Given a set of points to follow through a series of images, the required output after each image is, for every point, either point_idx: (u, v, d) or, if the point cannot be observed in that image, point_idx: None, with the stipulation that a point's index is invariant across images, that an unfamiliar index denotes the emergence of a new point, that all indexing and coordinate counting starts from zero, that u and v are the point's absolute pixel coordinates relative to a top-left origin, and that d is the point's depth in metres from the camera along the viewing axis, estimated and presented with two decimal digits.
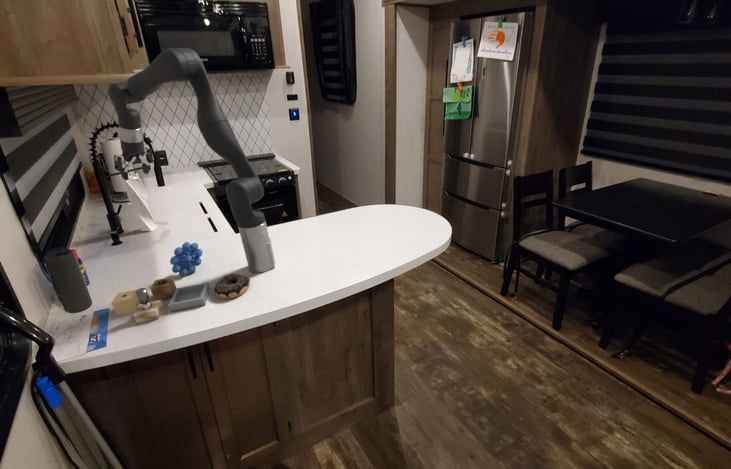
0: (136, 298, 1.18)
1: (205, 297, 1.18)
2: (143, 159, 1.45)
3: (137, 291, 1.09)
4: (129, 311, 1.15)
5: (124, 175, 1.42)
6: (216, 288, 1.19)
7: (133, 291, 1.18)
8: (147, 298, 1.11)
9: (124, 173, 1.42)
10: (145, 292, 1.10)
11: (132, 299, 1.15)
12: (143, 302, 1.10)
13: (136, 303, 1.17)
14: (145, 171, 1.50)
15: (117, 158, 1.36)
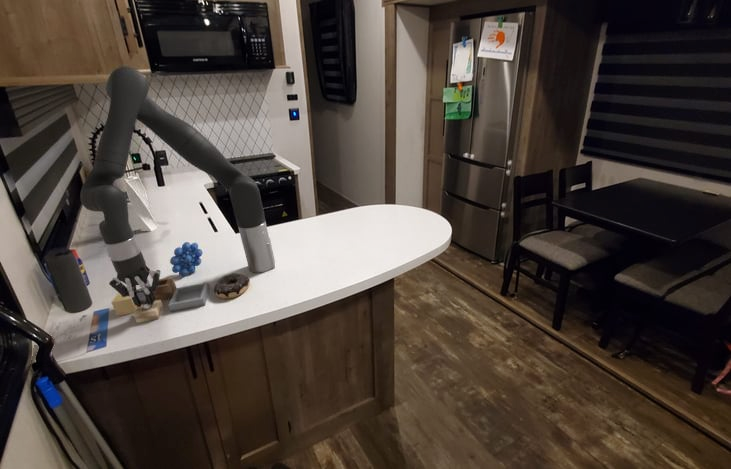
0: None
1: (205, 297, 1.18)
2: None
3: (137, 291, 1.09)
4: (129, 311, 1.15)
5: None
6: (216, 288, 1.19)
7: None
8: None
9: None
10: None
11: None
12: (143, 302, 1.10)
13: None
14: None
15: (159, 272, 1.10)
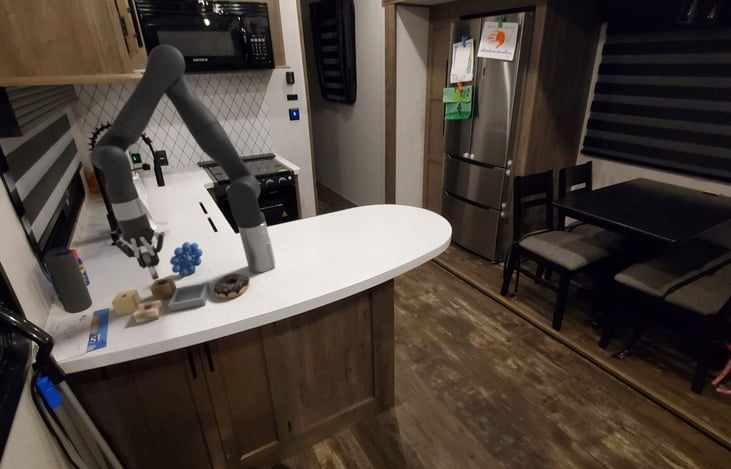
0: (136, 298, 1.18)
1: (205, 297, 1.18)
2: None
3: (142, 253, 1.13)
4: (129, 311, 1.16)
5: None
6: (215, 288, 1.19)
7: (133, 291, 1.18)
8: (152, 261, 1.14)
9: None
10: (150, 255, 1.14)
11: (132, 299, 1.15)
12: (148, 264, 1.14)
13: (136, 303, 1.17)
14: None
15: (163, 234, 1.13)
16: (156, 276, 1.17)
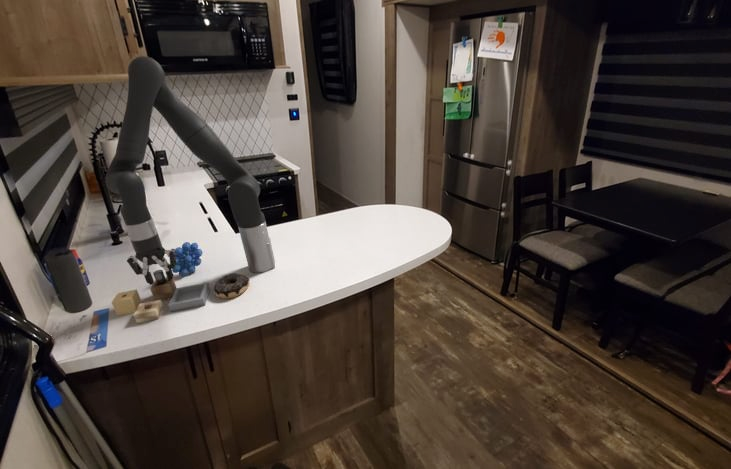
0: (136, 298, 1.18)
1: (205, 297, 1.18)
2: None
3: (155, 272, 1.19)
4: (129, 311, 1.16)
5: None
6: (215, 288, 1.19)
7: (133, 291, 1.18)
8: (164, 279, 1.20)
9: None
10: (162, 273, 1.20)
11: (132, 299, 1.15)
12: (160, 283, 1.20)
13: (136, 303, 1.17)
14: (152, 279, 1.20)
15: (174, 250, 1.19)
16: None
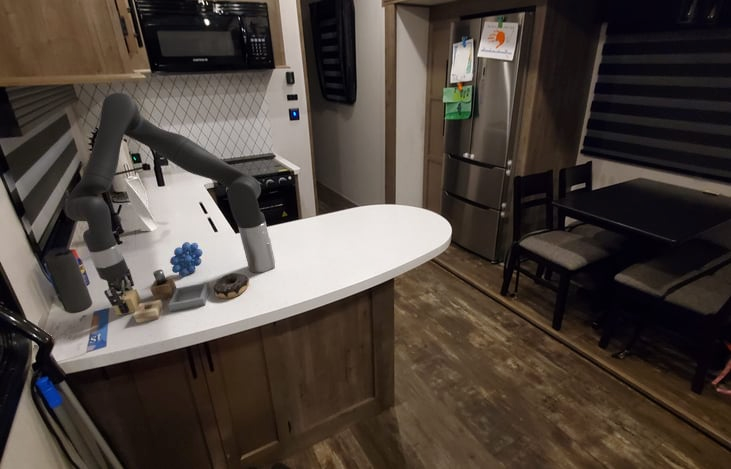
0: (136, 298, 1.18)
1: (205, 297, 1.18)
2: None
3: (155, 272, 1.19)
4: (129, 311, 1.15)
5: None
6: (215, 287, 1.19)
7: (133, 291, 1.18)
8: (164, 279, 1.20)
9: None
10: (162, 273, 1.20)
11: (132, 299, 1.15)
12: (160, 282, 1.20)
13: (136, 302, 1.17)
14: None
15: None
16: None
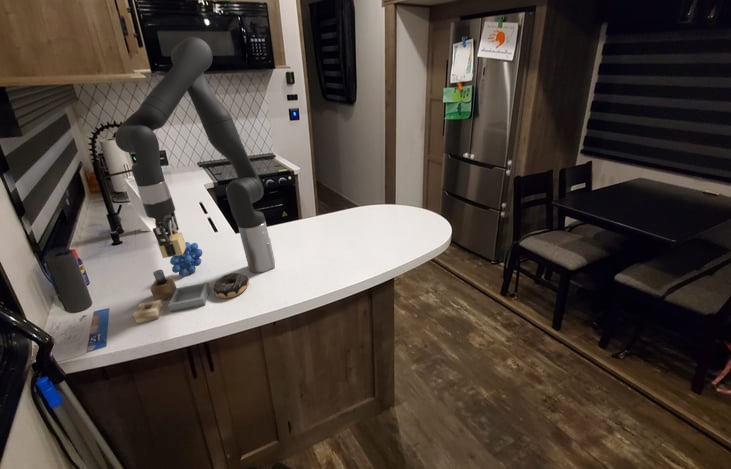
0: (182, 241, 1.12)
1: (205, 297, 1.18)
2: None
3: (155, 272, 1.19)
4: None
5: None
6: (215, 287, 1.19)
7: (178, 234, 1.12)
8: (164, 279, 1.20)
9: None
10: (162, 273, 1.20)
11: (178, 240, 1.09)
12: (160, 282, 1.20)
13: (182, 246, 1.12)
14: None
15: None
16: None
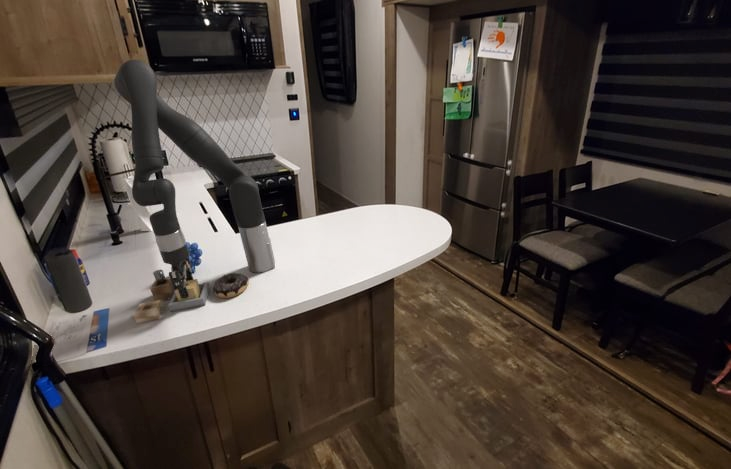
0: (197, 287, 1.19)
1: (205, 297, 1.18)
2: None
3: (155, 272, 1.19)
4: None
5: None
6: (214, 287, 1.19)
7: (194, 281, 1.19)
8: (164, 279, 1.20)
9: None
10: (162, 273, 1.20)
11: (194, 288, 1.16)
12: (160, 282, 1.20)
13: (197, 292, 1.18)
14: None
15: None
16: None
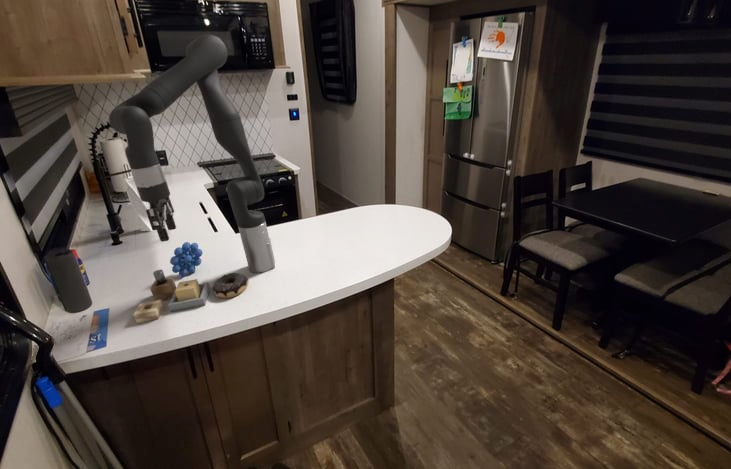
0: (197, 287, 1.19)
1: (205, 297, 1.18)
2: None
3: (155, 272, 1.19)
4: None
5: None
6: (214, 287, 1.19)
7: (194, 281, 1.19)
8: (164, 279, 1.20)
9: None
10: (162, 273, 1.20)
11: (194, 288, 1.16)
12: (160, 282, 1.20)
13: (197, 292, 1.18)
14: None
15: None
16: None
